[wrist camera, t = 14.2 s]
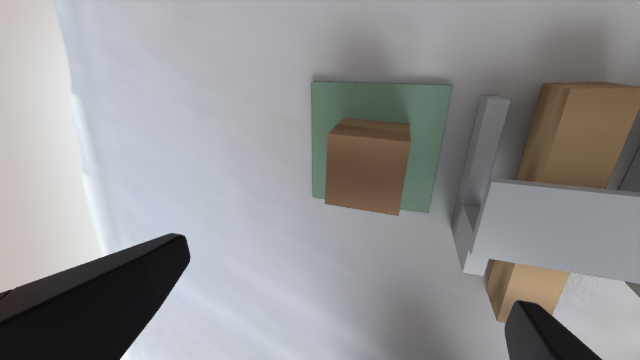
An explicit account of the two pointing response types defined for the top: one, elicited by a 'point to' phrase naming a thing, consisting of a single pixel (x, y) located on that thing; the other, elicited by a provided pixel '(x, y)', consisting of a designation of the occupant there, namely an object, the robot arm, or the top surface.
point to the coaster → (390, 106)
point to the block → (367, 165)
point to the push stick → (565, 170)
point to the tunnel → (543, 215)
